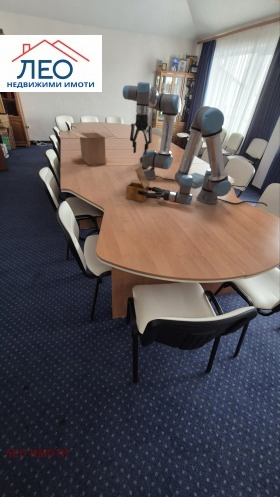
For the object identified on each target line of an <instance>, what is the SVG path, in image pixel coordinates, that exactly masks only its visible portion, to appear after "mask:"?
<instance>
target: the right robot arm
mask: <svg viewBox="0 0 280 497" xmlns="http://www.w3.org/2000/svg"><path fill="white" fill-rule="evenodd" d="M224 123H225V116H224V113H223V111H222V110H221V109H219V108H217V107H215V106H213V107H211V106H209V105H203V106H202V107H200V108H199V109H198V110H197V111H196V112H195V115H194V116H193V119H192V121H191V125H190V128H189V129H190V133H189V136H188V139H187V143H186V146H185V148H184V152H183V155H182V158H181V161H180V164H179V167H178V169H177V171H176V172H175V174H174V180H176V181H175V182H176V183H177V184H178V186H179V190H178V191H174V190H169V189H164V188H160V187H157V186H149V188H148V193H147V192H144V191H139V190H138V194H139V195H144V196H146V199H154V200H161V199H163V201H165V202H170V203H172V204H173V203H175V204H180V205H184V206H191V204H192V201H193V194H191V191H192V187H191V186H192V181H193V178H192V176H189V175H190V174H189V173H190V170H191V167H192V164H193V161H194V159H195V157H196V155H197V154H196V153H197V150H198V148H199V145H200V142H201V139H204V142H205V146H206V153H207V158H208V164H209V169H206V170H205V173H204V176H205V177H204V181H203V185H201V189H200V191H199V192H198V194H197V197H196V199H197V201H199V202H200V203H202V204H207V205H214V204H217V203H218V201H222V202H225V203H228V204H231V205H240V204H242V203H251V204H262V205H264V206H265V207H268V204H267V203H265V202H263V201H252V200H242V201H240V202H231V201H228V200H225V199H221V197H224V196H227V195H229V193H230V191H231V190H232V188H233V186H232V185H233V184H232V183H231V181H230V180H229V174H228V172H227V171H226V170H225V163H224V155H223V154H224V153H223V146H222V139H221V133H222V132H223V126H224Z"/></svg>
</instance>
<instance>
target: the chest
mask: <svg viewBox="0 0 280 497" xmlns="http://www.w3.org/2000/svg"><path fill="white" fill-rule="evenodd" d="M149 187H150V184H149V185H148V186H147V187H146V188H145V189H143V187H142V184H141V182H134V181H131V182H130V183H128V184H127V185H126V199H129V200H133V201H138V202H141V203H144V202H145V201H146V200H147V198H146V196H144V195H139V194H138V190H139V191H144V192H147V193H149V191H148V188H149Z"/></svg>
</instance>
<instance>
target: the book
mask: <svg viewBox="0 0 280 497" xmlns="http://www.w3.org/2000/svg"><path fill="white" fill-rule="evenodd" d="M188 175H189V176H192V178H193V181H192V186H191V188H193V189H195V188H198V187H200V186H202V185H203V181H204V177H205V174H201V173H198V172H193V173H190V174H188Z"/></svg>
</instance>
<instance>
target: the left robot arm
mask: <svg viewBox="0 0 280 497" xmlns="http://www.w3.org/2000/svg"><path fill="white" fill-rule="evenodd" d="M122 97H123V99H124V100H128V101H132V102H136V106H135V107H136V108H135V112H136V114H135V123H131V124H130V136H129V141H131V142H132V148H133V150H132V151H133V154H136V153H137V139H138V135H139V133H140V131H141V132H142V133H143V137H144V141H145V143H144V148H143V150H144V151H143V152H142V157H143V158H142V163H141V167H142V169H143V170H145V169H147V168H148V167H150V166H151V167H152V168H151V169H150V170H149V171H145V172H144V174H145V176H146V178H147V181H154V180H156V178H160V179H162V180H166V181H173V182H174V181H175V182H176V180H175V178H174V179H173V178H167V177H162V176H160V175H159V176H158V175H157V174H156V169H161V170H169V169H170V168H171V166H172V164H173V161H174V156H173V155H172V151H171V146H172V138H173V133H174V132H173V131H174V127H175V126H174V125H175V120H176V118H177V117H178V114H180V112H181V109H182V100H181V96H180V95H179V94H175V93H162V92H160V93H159V91H158V89H157V88H156V87H155V86H151V83H150V82H145V81H144V82H143V81H139V82H137V85H130V84H128V85H126V84H125V85H124V86H123V87H122ZM150 109H152V110H154V111H158V112H162V114H161V115H162V117H163V121H162V128H161V136H160V137H161V138H160V145H159V150H155V149H154V150H153V149H151V150H150V149H149V145H150V144H151V143H153V142H152V141H153V140H152V138H153V137H152V136H153V135H152V134H153V133H152V130H153V125H149V110H150ZM135 128H136V129H135ZM147 130H148V131H147ZM147 132H148V133H147ZM155 168H156V169H155ZM231 185H232V187H237V188H244V189H247V187H246V186H245V185H235V184H231Z"/></svg>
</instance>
